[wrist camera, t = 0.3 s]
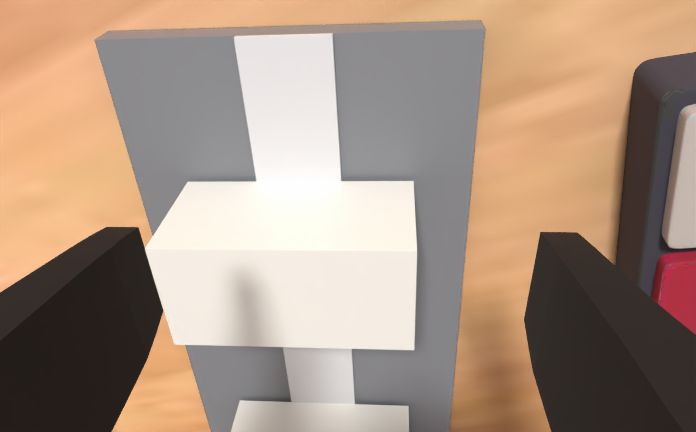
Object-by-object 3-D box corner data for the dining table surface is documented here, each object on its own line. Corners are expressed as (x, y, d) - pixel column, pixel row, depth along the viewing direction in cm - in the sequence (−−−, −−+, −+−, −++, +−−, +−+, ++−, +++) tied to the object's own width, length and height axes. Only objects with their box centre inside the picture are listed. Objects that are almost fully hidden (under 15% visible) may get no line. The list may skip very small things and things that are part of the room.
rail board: (441, 491, 31) (442, 512, 30) (235, 481, 32) (230, 501, 31) (481, 20, 17) (486, 30, 16) (108, 31, 18) (91, 41, 17)
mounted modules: (407, 456, 28) (408, 539, 24) (251, 450, 28) (232, 530, 25) (413, 180, 19) (416, 251, 15) (187, 181, 20) (144, 249, 16)
